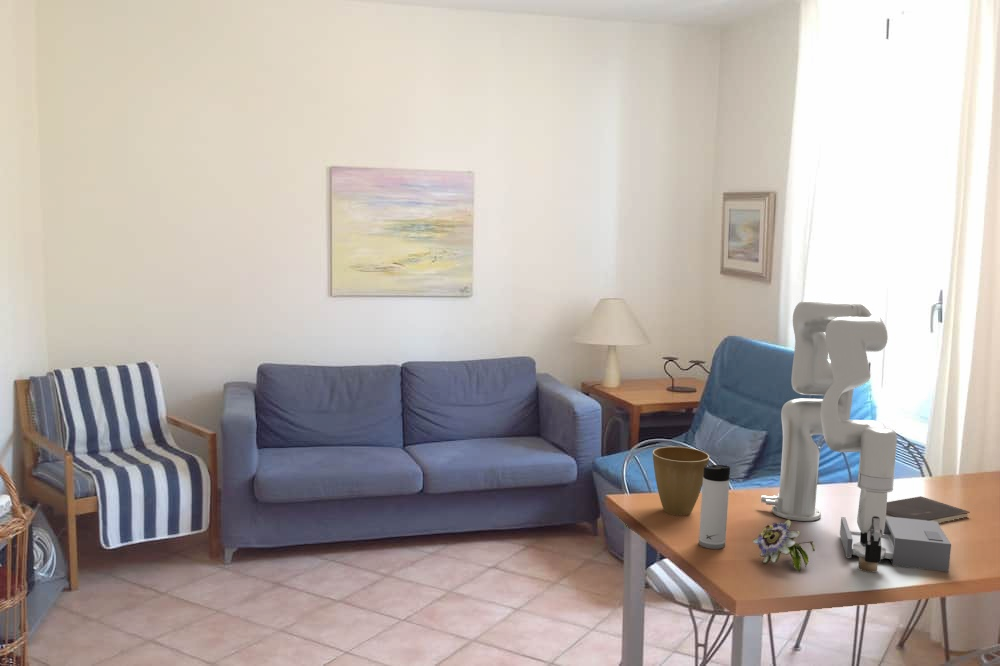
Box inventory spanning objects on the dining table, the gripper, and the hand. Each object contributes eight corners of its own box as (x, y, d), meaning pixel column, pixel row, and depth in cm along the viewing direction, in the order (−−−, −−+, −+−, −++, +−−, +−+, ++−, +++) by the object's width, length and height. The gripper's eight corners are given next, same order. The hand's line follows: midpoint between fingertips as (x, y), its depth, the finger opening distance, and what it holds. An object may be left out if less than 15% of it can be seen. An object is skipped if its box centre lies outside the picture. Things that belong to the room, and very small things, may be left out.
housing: (892, 565, 224) (895, 537, 223) (882, 541, 240) (885, 515, 239) (948, 571, 221) (951, 543, 220) (934, 547, 237) (937, 520, 236)
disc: (854, 557, 218) (854, 550, 218) (851, 547, 225) (851, 540, 224) (887, 561, 216) (887, 554, 216) (883, 551, 223) (883, 544, 223)
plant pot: (640, 504, 264) (643, 447, 262) (689, 501, 268) (693, 445, 266) (664, 521, 249) (667, 461, 247) (715, 518, 254) (719, 459, 252)
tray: (846, 557, 226) (848, 538, 226) (839, 534, 242) (841, 516, 242) (902, 563, 223) (903, 544, 223) (891, 540, 240) (893, 522, 239)
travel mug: (711, 551, 229) (716, 469, 226) (693, 542, 235) (698, 462, 232) (731, 547, 232) (737, 466, 229) (713, 539, 237) (718, 460, 235)
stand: (859, 570, 219) (860, 556, 219) (857, 564, 223) (858, 550, 223) (877, 573, 218) (879, 558, 218) (875, 566, 222) (877, 552, 222)
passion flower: (765, 585, 223) (740, 537, 227) (798, 569, 228) (773, 522, 232) (794, 573, 214) (768, 523, 217) (828, 557, 219) (802, 508, 223)
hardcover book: (968, 519, 262) (969, 511, 262) (913, 530, 251) (913, 522, 251) (918, 503, 276) (919, 495, 276) (863, 513, 265) (863, 505, 265)
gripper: (853, 471, 227) (848, 541, 229) (862, 490, 211) (856, 565, 213) (887, 474, 226) (881, 545, 227) (899, 493, 209) (892, 569, 211)
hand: (869, 554), depth 220 cm, fingers open, 9 cm apart
